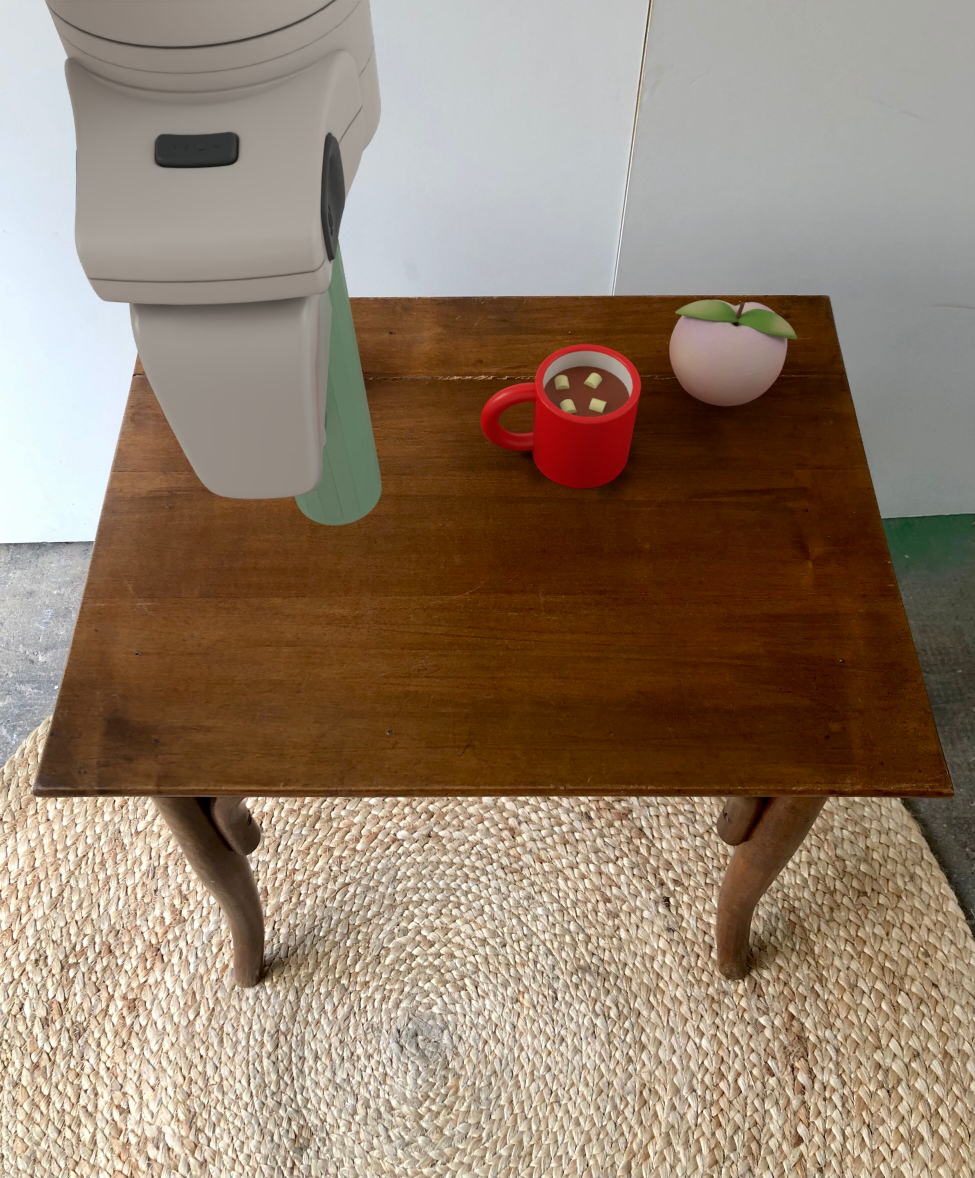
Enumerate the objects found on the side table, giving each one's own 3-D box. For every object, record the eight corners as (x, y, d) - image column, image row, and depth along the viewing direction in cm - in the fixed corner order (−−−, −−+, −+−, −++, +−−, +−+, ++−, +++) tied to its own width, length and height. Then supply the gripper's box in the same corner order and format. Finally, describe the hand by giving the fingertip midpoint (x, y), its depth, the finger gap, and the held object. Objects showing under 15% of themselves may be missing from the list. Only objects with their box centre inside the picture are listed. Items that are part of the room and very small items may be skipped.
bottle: (292, 527, 45) (174, 186, 28) (297, 457, 47) (192, 103, 31) (380, 524, 45) (314, 181, 28) (382, 454, 47) (322, 99, 31)
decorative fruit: (659, 431, 74) (679, 340, 66) (660, 358, 79) (679, 264, 70) (774, 439, 74) (810, 349, 65) (769, 365, 78) (803, 272, 69)
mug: (477, 420, 75) (474, 351, 69) (620, 409, 76) (631, 339, 69) (485, 496, 71) (484, 431, 65) (636, 484, 72) (650, 417, 65)
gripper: (172, -96, 33) (259, 229, 45) (60, 301, 22) (211, 586, 34) (347, -101, 33) (387, 225, 45) (316, 293, 22) (378, 580, 34)
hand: (310, 385), depth 39 cm, fingers closed on bottle, 4 cm apart
